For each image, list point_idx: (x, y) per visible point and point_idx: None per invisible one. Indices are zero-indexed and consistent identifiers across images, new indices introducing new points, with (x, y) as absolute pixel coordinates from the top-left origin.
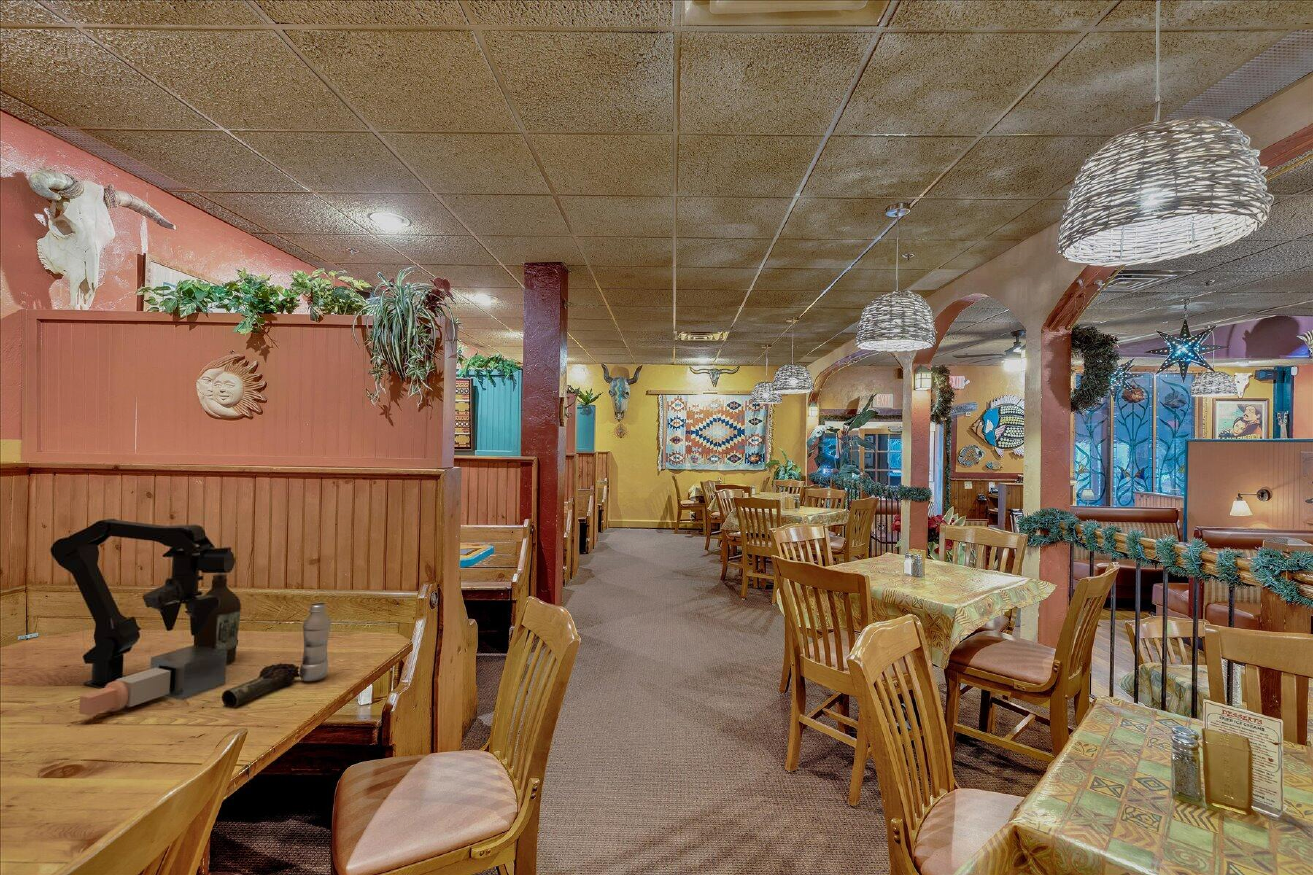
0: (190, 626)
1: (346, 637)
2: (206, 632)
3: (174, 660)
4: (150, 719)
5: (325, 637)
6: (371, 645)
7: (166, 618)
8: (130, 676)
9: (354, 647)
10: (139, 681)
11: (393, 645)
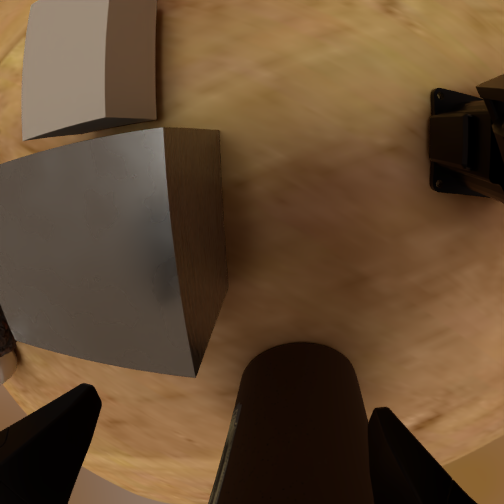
0: (46, 423)
1: (188, 497)
2: (254, 463)
3: (16, 173)
4: (22, 56)
5: None
6: (112, 472)
7: (409, 499)
8: (91, 7)
9: (121, 468)
10: (29, 28)
11: (89, 468)
